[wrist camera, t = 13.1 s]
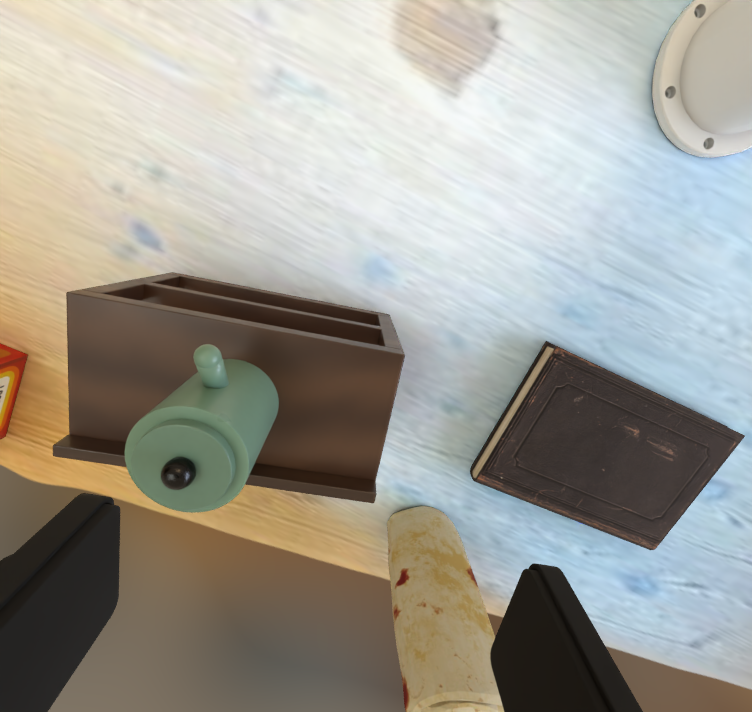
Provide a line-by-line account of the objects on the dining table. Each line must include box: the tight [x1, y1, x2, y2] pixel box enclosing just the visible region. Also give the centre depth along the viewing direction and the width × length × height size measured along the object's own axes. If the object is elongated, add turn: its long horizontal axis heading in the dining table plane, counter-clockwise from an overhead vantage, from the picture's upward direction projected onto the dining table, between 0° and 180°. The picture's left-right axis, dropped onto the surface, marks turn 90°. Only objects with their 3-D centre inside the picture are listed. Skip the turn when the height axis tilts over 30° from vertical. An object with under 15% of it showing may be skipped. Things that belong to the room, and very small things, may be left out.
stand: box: [53, 272, 405, 503], centre depth 30 cm, size 10×20×15 cm, turn 78°
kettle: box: [125, 344, 279, 512], centre depth 20 cm, size 8×6×9 cm
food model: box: [387, 506, 504, 712], centre depth 34 cm, size 10×7×20 cm
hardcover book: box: [470, 341, 745, 550], centre depth 41 cm, size 16×23×2 cm
